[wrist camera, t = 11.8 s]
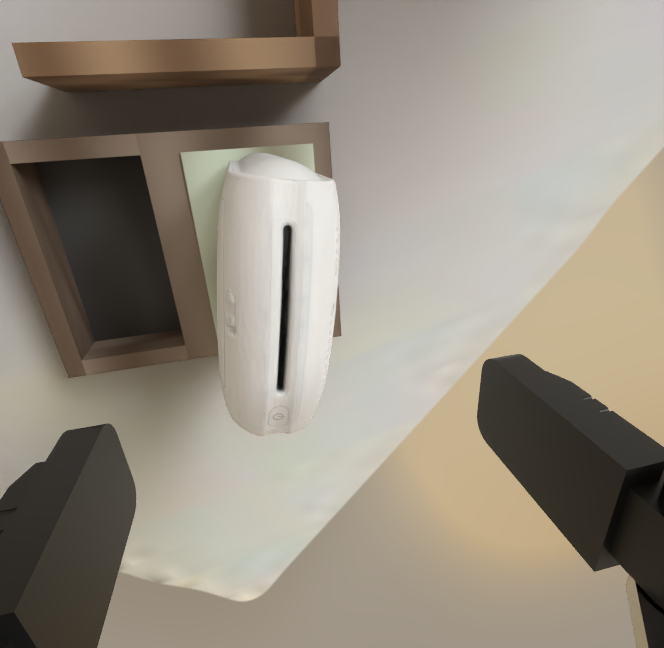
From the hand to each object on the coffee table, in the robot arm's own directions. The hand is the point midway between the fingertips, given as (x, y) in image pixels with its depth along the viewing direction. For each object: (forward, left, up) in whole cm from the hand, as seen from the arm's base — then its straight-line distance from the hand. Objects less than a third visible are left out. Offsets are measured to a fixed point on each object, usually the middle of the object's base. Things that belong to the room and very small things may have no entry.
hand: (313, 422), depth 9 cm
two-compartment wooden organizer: (+4, 0, -20) cm, 20 cm away
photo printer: (0, 0, -17) cm, 17 cm away
